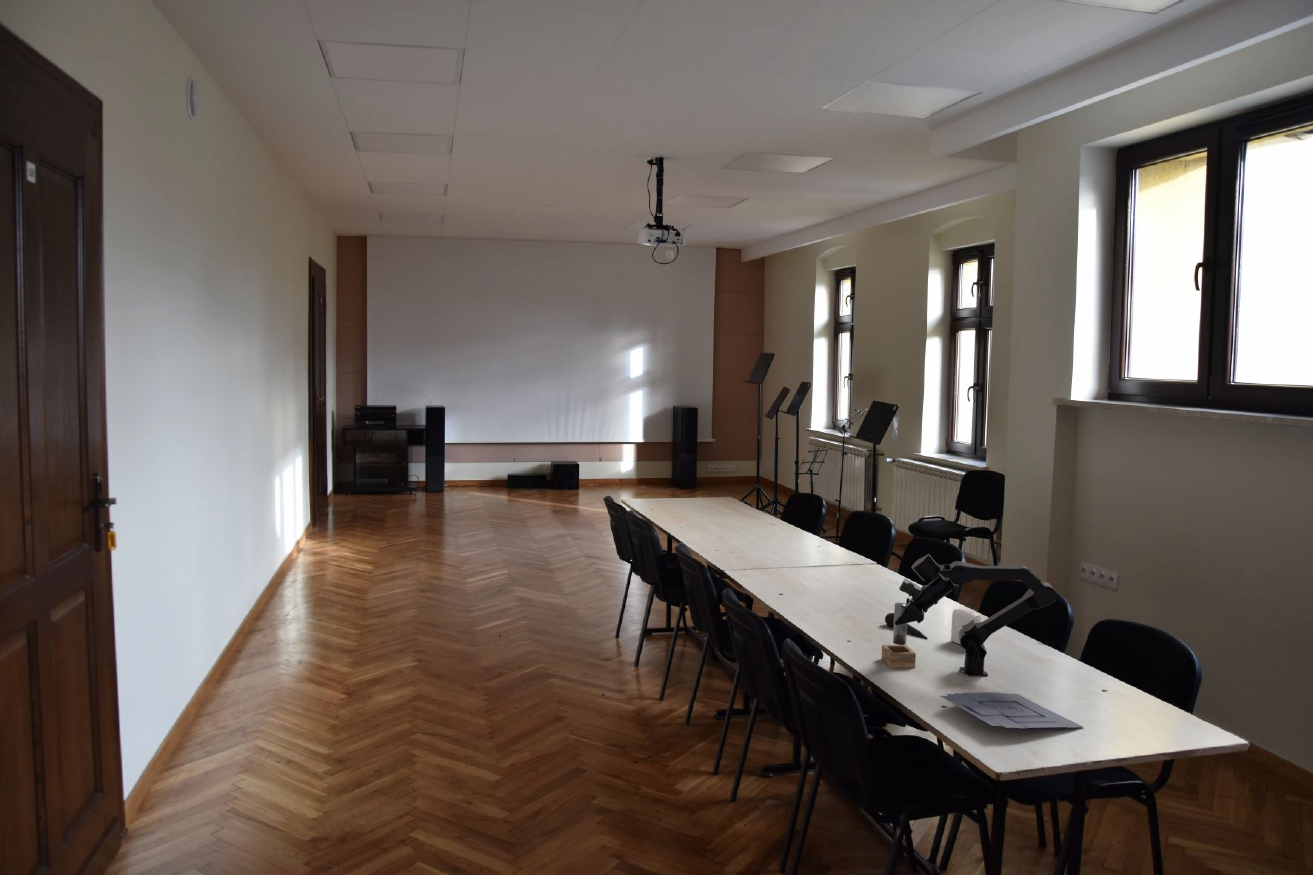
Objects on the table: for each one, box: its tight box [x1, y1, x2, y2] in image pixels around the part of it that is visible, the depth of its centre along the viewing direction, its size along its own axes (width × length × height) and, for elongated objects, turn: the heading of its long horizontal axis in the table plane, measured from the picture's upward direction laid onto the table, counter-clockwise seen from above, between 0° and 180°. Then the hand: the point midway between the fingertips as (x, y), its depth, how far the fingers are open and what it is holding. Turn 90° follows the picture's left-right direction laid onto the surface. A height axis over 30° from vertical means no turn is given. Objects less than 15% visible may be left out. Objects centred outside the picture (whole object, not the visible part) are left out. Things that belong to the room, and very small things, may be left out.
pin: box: [892, 602, 908, 645], centre depth 275 cm, size 4×4×12 cm
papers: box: [939, 692, 1084, 729], centre depth 236 cm, size 24×30×4 cm
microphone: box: [884, 612, 928, 640], centre depth 308 cm, size 5×5×19 cm
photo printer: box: [950, 607, 982, 645], centre depth 295 cm, size 10×4×12 cm, turn 29°
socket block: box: [881, 644, 917, 669], centre depth 276 cm, size 8×8×4 cm
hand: (896, 622), depth 275 cm, fingers closed on pin, 4 cm apart
